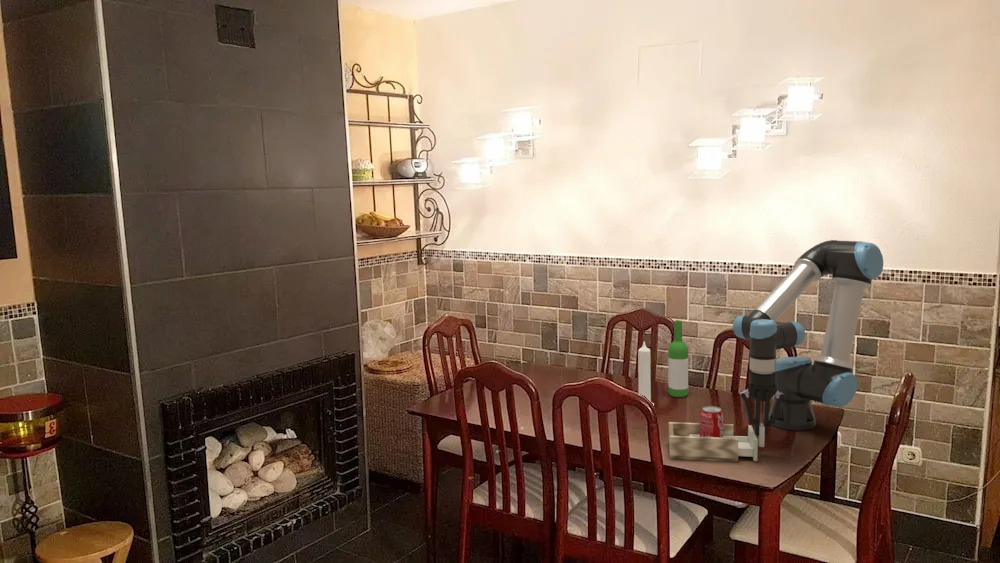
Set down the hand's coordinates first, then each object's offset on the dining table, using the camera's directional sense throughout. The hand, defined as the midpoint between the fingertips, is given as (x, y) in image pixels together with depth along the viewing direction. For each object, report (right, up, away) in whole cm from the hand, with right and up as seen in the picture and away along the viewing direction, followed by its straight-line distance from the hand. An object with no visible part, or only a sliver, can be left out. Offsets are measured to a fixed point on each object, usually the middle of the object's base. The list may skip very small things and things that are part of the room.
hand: (761, 445), depth 219 cm
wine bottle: (-10, +5, +64) cm, 65 cm away
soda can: (-14, -1, +3) cm, 15 cm away
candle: (-25, +3, +52) cm, 58 cm away
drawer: (-11, -3, +3) cm, 12 cm away
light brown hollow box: (-17, -3, +4) cm, 18 cm away
